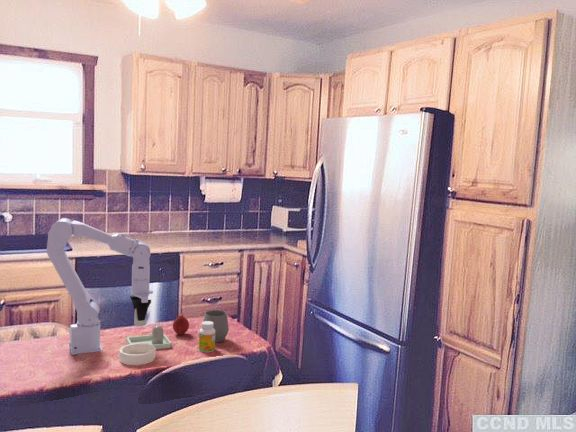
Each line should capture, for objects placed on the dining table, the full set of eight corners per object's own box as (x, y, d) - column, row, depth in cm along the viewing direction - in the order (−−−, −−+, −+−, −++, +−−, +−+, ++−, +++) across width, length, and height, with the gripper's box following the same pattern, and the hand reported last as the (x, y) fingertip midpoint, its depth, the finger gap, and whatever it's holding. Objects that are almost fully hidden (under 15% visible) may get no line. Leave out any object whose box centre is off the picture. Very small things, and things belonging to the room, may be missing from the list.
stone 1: (135, 326, 180) (135, 307, 179) (133, 323, 183) (133, 304, 182) (147, 325, 181) (147, 307, 181) (144, 322, 185) (145, 304, 184)
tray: (132, 353, 176) (132, 347, 176) (126, 342, 186) (126, 337, 186) (171, 348, 182) (171, 343, 182) (163, 338, 192) (163, 333, 192)
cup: (231, 337, 196) (232, 310, 195) (224, 346, 187) (225, 317, 186) (206, 335, 198) (207, 308, 197) (197, 343, 189) (198, 315, 188)
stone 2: (153, 345, 183) (153, 327, 182) (150, 342, 186) (151, 324, 186) (164, 344, 185) (164, 326, 184) (161, 341, 188) (162, 323, 187)
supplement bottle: (195, 352, 180) (196, 323, 179) (203, 347, 185) (204, 319, 184) (209, 354, 179) (210, 326, 178) (217, 349, 184) (218, 321, 183)
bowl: (122, 368, 164) (122, 357, 164) (116, 356, 174) (116, 345, 173) (158, 363, 169) (158, 352, 169) (150, 352, 179) (150, 341, 178)
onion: (186, 338, 193) (187, 316, 192) (170, 337, 193) (171, 315, 193) (190, 333, 199) (190, 312, 198) (174, 332, 199) (175, 311, 198)
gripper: (157, 282, 176) (156, 323, 177) (148, 273, 189) (147, 311, 190) (135, 284, 173) (134, 325, 174) (127, 274, 186) (126, 313, 187)
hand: (140, 318), depth 182 cm, fingers closed on stone 1, 4 cm apart
